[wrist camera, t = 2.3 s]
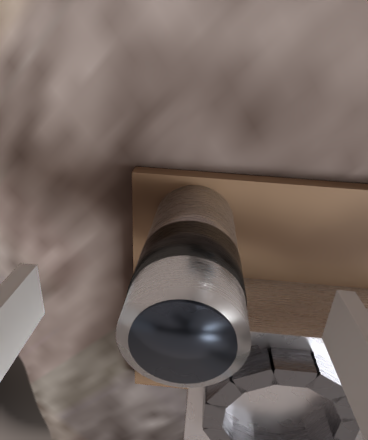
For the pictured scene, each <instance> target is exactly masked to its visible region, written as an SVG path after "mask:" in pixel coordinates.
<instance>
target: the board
mask: <svg viewBox="0 0 368 440" xmlns="http://www.w3.org/2000/svg"><path fill="white" fill-rule="evenodd" d="M188 185H200V186H205V187H208V188H211V189H213V190H215V191H216V192H218V193H219V194H221V195H222V196H223V197H224V198H225V199H226V201H227V202H228V204H229V205H230V207H231V210H232V213H233V218H234V225H235V232H236V239H237V245H238V252H239V255H240V259H241V265H242V272H243V278H252V279H263V280H275V281H286V282H297V283H309V284H320V285H332V286H343V287H355V288H366V289H368V184H362V183H348V182H335V181H322V180H309V179H295V178H282V177H269V176H256V175H242V174H229V173H216V172H203V171H189V170H176V169H163V168H150V167H135V168H134V170H133V171H132V220H133V273H134V271H135V268H136V265H137V262H138V259H139V257H140V254H141V251H142V248H143V246H144V244H145V242H146V240H147V237H148V234H149V231H150V228H151V225H152V223H153V220H154V217H155V214H156V211H157V208H158V206H159V204H160V202H161V201H162V200H163V198H164V197H165V196H166V195H167V194H168V193H170V192H171V191H173V190H175V189H177V188H180V187H183V186H188ZM135 384H145V385H155V386H164V387H173V386H168V385H164V384H161V383H158V382H155V381H153V380H150V379H148V378H146V377H145V376H143V375H141V374H140V373H138V372H137V371H136V370H135ZM174 388H180V387H174ZM184 389H187V388H184Z"/></svg>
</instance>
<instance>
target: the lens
mask: <svg viewBox="0 0 368 440" xmlns="http://www.w3.org/2000/svg"><path fill="white" fill-rule="evenodd" d="M116 341H117V345H118V348H119V350H120V352H121V354H122V356H123V357H124V359H125V360H126V362H127V363H128V364H129V365H130V366H131V367H132V368H133V369H134V370H136V371H137V372H138V373H140V374H141V375H143V376H145V377H146V378H148V379H150V380H153V381H155V382H158V383H161V384H164V385H168V386H173V387H180V388H197V387H204V386H209V385H213V384H216V383H219V382H221V381H223V380H225V379H227V378H229V377H230V376H232V375H233V374H234V373H236V372H237V371H238V370H239V369H240V368H241V367H242V366H243V364H244V363H245V361H246V360H247V357H248V355H249V352H250V349H251V333H250V326H249V319H248V313H247V298H246V291H245V285H244V278H243V272H242V265H241V259H240V255H239V252H238V245H237V239H236V232H235V225H234V218H233V213H232V210H231V207H230V205H229V204H228V202H227V201H226V199H225V198H224V197H223V196H222V195H221V194H219V193H218V192H216V191H215V190H213V189H211V188H208V187H205V186H200V185H188V186H183V187H180V188H177V189H175V190H173V191H171V192H170V193H168V194H167V195H166V196H165V197H164V198H163V200H162V201H161V202H160V204H159V206H158V208H157V211H156V214H155V217H154V220H153V223H152V225H151V228H150V231H149V234H148V237H147V240H146V242H145V244H144V246H143V248H142V251H141V254H140V257H139V259H138V262H137V265H136V268H135V271H134V273H133V276H132V279H131V282H130V285H129V288H128V292H127V297H126V300H125V303H124V305H123V308H122V311H121V314H120V317H119V320H118V323H117V327H116Z"/></svg>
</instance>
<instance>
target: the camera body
mask: <svg viewBox="0 0 368 440" xmlns="http://www.w3.org/2000/svg"><path fill="white" fill-rule="evenodd" d="M244 285H245V291H246V298H247V313H248V319H249V326H250V333H251V349H250V352H249V355H248V357H247V360H246V361H245V363H244V364H243V366H242V367H241V368H240V369H239V370H238V371H237V372H236V373H234V374H233V375H232V376H230V377H229V378H227V379H225V380H223V381H221V382H219V383H216V384H213V385H209V386H204V387H197V388H187V399H186V414H185V429H184V440H364V437H363V435H362V433H361V430H360V428H359V426H358V423H357V421H356V418H355V416H354V414H353V411H352V409H351V406H350V404H349V402H348V399H347V397H346V395H345V392H344V390H343V387H342V385H341V383H340V380H339V378H338V376H337V373H336V371H335V368H334V366H333V364H332V361H331V359H330V356H329V354H328V352H327V349H326V347H325V345H324V342H323V340H322V335H323V332H324V329H325V326H326V322H327V319H328V316H329V313H330V310H331V307H332V303H333V300H334V297H335V294H336V291H337V290H344V291H355V292H356V294H357V295H358V297H359V299H360V300H361V302H362V303H363V305H364V306H365V308H366V309H367V311H368V289H366V288H355V287H343V286H332V285H320V284H309V283H297V282H286V281H275V280H263V279H252V278H244Z"/></svg>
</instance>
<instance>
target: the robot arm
mask: <svg viewBox="0 0 368 440" xmlns="http://www.w3.org/2000/svg"><path fill="white" fill-rule="evenodd" d="M44 314H45V310H44V304H43V298H42V292H41V285H40V279H39V273H38V267H37V265H34V264H22V263H20V264H19V265H18V266H17V267H16V268H15V269H14V271H13V272H12V273H11V274H10V275H9V276H8V277H7V278H6V279H5V280H4V281H3V282H2V283H1V284H0V382H1V380H2V379H3V377H4V376H5V374H6V372H7V371H8V369H9V368H10V366H11V365H12V363H13V362H14V360H15V359H16V357H17V356H18V354H19V352H20V351H21V349H22V348H23V346H24V345H25V343H26V342H27V340H28V339H29V337H30V336H31V334H32V332H33V331H34V329H35V328H36V326H37V325H38V323H39V322H40V320H41V319H42V317H43V316H44ZM322 340H323V342H324V345H325V347H326V349H327V352H328V354H329V356H330V359H331V361H332V364H333V366H334V368H335V371H336V373H337V376H338V378H339V380H340V383H341V385H342V387H343V390H344V392H345V395H346V397H347V399H348V402H349V404H350V406H351V409H352V411H353V414H354V416H355V418H356V421H357V423H358V426H359V428H360V430H361V433H362V435H363V437H364V440H368V311H367V309H366V308H365V306H364V305H363V303H362V302H361V300H360V299H359V297H358V295H357V294H356V292H355V291H344V290H337V291H336V294H335V297H334V300H333V303H332V307H331V310H330V313H329V316H328V319H327V322H326V326H325V329H324V332H323V335H322Z"/></svg>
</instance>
